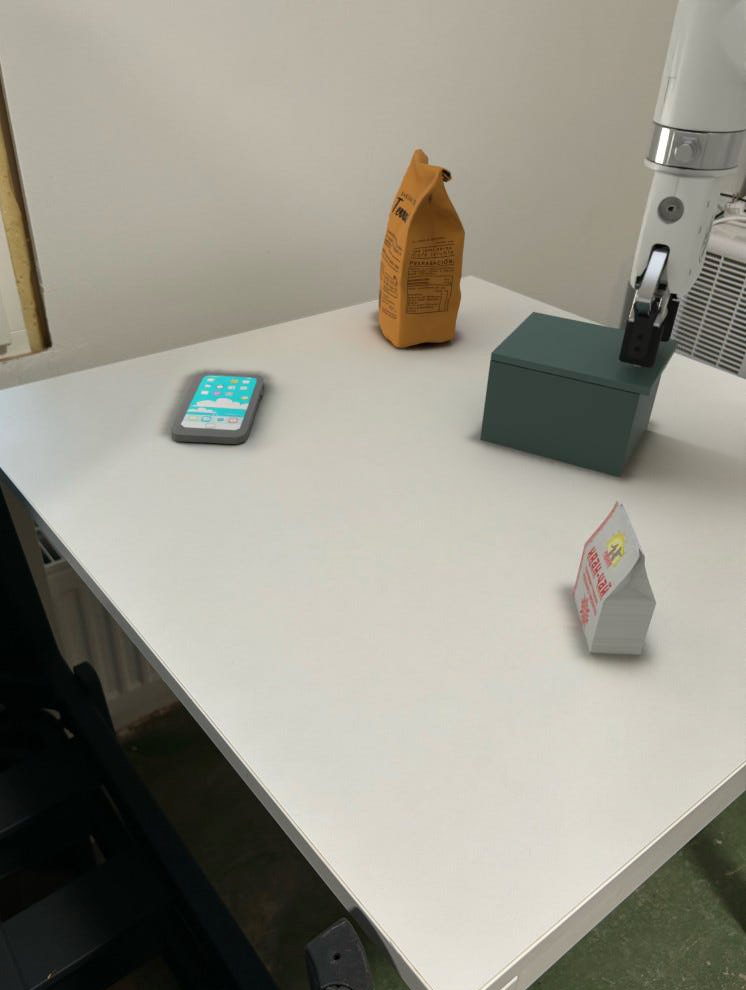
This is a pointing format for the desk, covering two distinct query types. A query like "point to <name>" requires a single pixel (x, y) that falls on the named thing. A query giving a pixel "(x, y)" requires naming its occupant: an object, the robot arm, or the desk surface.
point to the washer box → (564, 417)
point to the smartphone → (218, 408)
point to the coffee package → (421, 259)
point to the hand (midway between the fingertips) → (644, 349)
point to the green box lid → (580, 352)
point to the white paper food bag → (614, 588)
